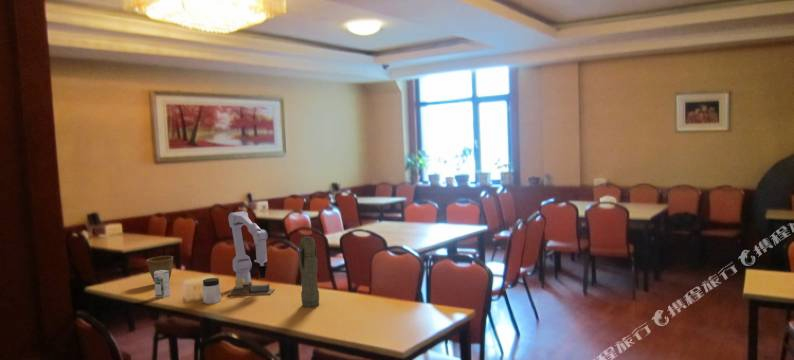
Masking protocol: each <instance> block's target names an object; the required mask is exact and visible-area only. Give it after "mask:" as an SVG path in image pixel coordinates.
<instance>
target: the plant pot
mask: <svg viewBox="0 0 794 360" xmlns="http://www.w3.org/2000/svg"><path fill="white" fill-rule="evenodd" d="M146 263H147V267H148V271H149V274H150V276H151V278H152V280H153V283H154V284H155V281H154V272H155V271H158V270H166V271H168V270H169V281H170V279H171V277H172V272H173V263H174V256H172V255H160V256H156V257H155V256H154V257H151V258H148V259H146Z"/></svg>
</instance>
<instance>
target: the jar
mask: <svg viewBox="0 0 794 360" xmlns="http://www.w3.org/2000/svg"><path fill="white" fill-rule="evenodd" d="M221 297H222V296H221V284H220V278H218V277H210V278H205V279H203V280H202V300H203V303H205V304H206V305H210V304H214V305H215V304H218V303H220V302H221V301H222V298H221Z"/></svg>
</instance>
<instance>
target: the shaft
mask: <svg viewBox="0 0 794 360" xmlns="http://www.w3.org/2000/svg"><path fill="white" fill-rule="evenodd" d="M233 288H234V290H243V287H236V285H235V286H234V287H233ZM270 289H271V287H270V283H267V284H254V285H253V284H252V285H249V292H260V291H267V292H268V291H269V290H270Z"/></svg>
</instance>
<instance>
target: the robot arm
mask: <svg viewBox="0 0 794 360" xmlns="http://www.w3.org/2000/svg"><path fill="white" fill-rule="evenodd" d="M227 219H228V223H229V224H228V225H229V228H231V230H232V231H231V232H232V237H233V245H234V249H235V256H234V258H233V259H232V270H233V271H234V272H235V275H236V279H237V278H244V279H245V282H249V281H251V280H252V277H251V272H250V271H251V270H252V266H253V263H252V261H251V258H250V256H249V255H247V254H246V251H245V245H244V239H243V233H242V227H243V226H246V227H247V231H248V232H249V233H250V234H251V235H252V238H253V241H254V245H255V257H256V259H254V261H253V262H254V263H256V268H257V269H258V274H259V276H260V279H263V278H264V279H265V278H266V271H267V268H268V252H267V240H268V238H269V235H268V232H267V230H266V229H261V227H260V226H258V224H257V223H255V222H253V221H251V219H250V218H249V214H248V212H247V210H242V211H235V212H230V213H229V214H228V218H227ZM251 282H252V281H251ZM252 285H253V282H252Z"/></svg>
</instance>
